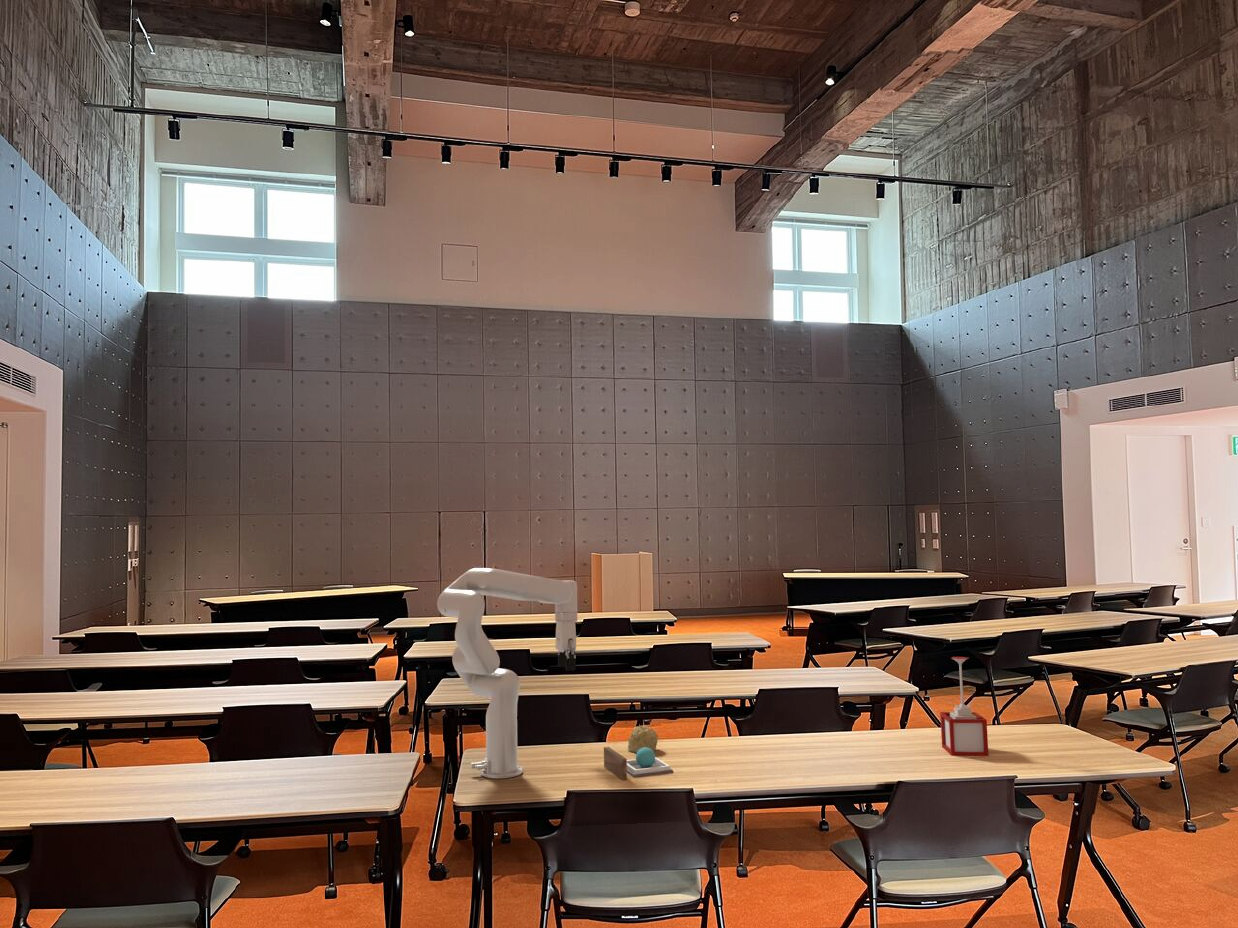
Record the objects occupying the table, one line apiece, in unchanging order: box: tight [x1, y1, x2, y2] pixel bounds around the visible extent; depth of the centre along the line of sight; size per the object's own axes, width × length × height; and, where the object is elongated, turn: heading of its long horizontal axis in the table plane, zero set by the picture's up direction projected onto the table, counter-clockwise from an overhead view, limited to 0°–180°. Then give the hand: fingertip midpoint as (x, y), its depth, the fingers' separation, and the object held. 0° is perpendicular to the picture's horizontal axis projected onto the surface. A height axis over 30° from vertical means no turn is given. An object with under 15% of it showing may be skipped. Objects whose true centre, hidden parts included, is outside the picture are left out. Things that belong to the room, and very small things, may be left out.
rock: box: [627, 725, 659, 754], centre depth 285 cm, size 10×11×10 cm
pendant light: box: [939, 656, 990, 757], centre depth 277 cm, size 11×11×30 cm
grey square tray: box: [627, 756, 674, 778], centre depth 262 cm, size 13×13×2 cm
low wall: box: [603, 746, 628, 781], centre depth 258 cm, size 2×16×6 cm, turn 20°
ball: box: [635, 747, 656, 768], centre depth 262 cm, size 6×6×6 cm
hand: (566, 668), depth 284 cm, fingers open, 9 cm apart
